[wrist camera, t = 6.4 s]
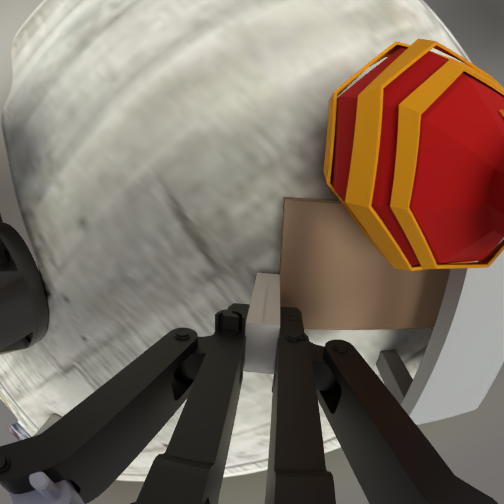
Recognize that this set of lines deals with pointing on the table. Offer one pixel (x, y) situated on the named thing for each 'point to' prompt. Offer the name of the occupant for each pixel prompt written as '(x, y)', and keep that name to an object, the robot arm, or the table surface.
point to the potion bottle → (421, 158)
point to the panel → (349, 274)
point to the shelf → (455, 349)
